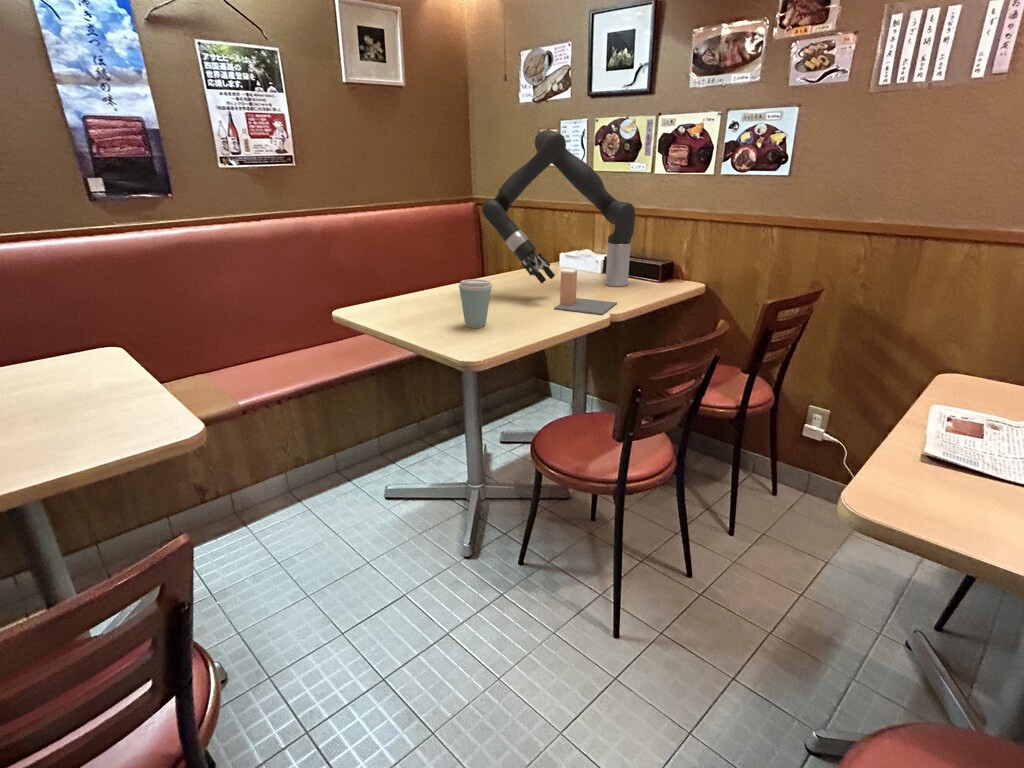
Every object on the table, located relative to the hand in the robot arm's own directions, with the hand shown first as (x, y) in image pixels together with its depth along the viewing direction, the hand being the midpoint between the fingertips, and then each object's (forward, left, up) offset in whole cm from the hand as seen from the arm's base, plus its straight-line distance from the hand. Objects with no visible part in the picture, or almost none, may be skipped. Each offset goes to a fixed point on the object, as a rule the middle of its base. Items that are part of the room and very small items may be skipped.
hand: (548, 279), depth 216 cm
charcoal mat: (0, +15, -9) cm, 17 cm away
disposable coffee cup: (+38, -9, -9) cm, 40 cm away
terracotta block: (0, +8, -8) cm, 11 cm away
